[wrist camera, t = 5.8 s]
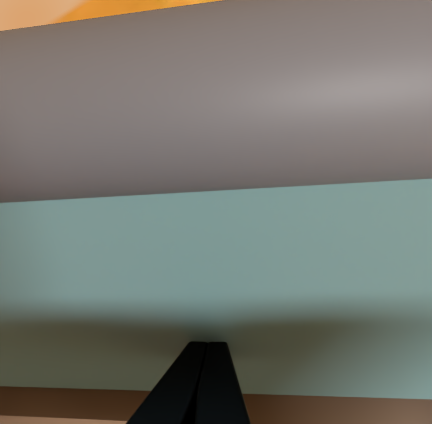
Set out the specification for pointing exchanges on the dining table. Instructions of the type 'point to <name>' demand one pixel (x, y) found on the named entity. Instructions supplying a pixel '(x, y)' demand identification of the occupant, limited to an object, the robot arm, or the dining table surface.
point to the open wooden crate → (255, 403)
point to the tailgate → (220, 196)
